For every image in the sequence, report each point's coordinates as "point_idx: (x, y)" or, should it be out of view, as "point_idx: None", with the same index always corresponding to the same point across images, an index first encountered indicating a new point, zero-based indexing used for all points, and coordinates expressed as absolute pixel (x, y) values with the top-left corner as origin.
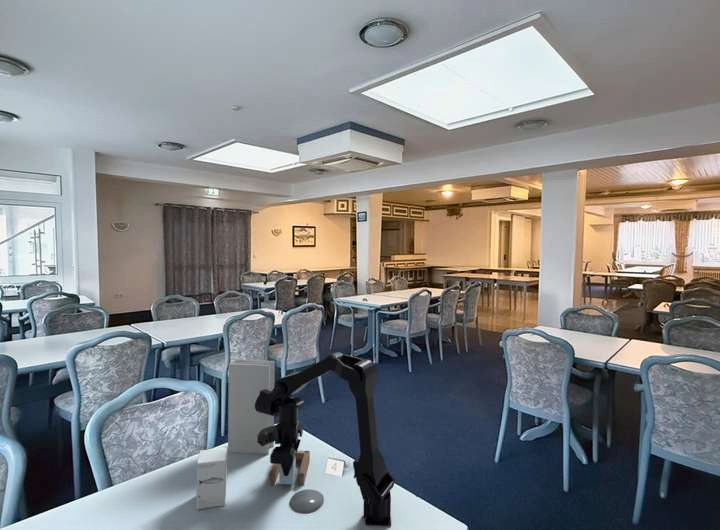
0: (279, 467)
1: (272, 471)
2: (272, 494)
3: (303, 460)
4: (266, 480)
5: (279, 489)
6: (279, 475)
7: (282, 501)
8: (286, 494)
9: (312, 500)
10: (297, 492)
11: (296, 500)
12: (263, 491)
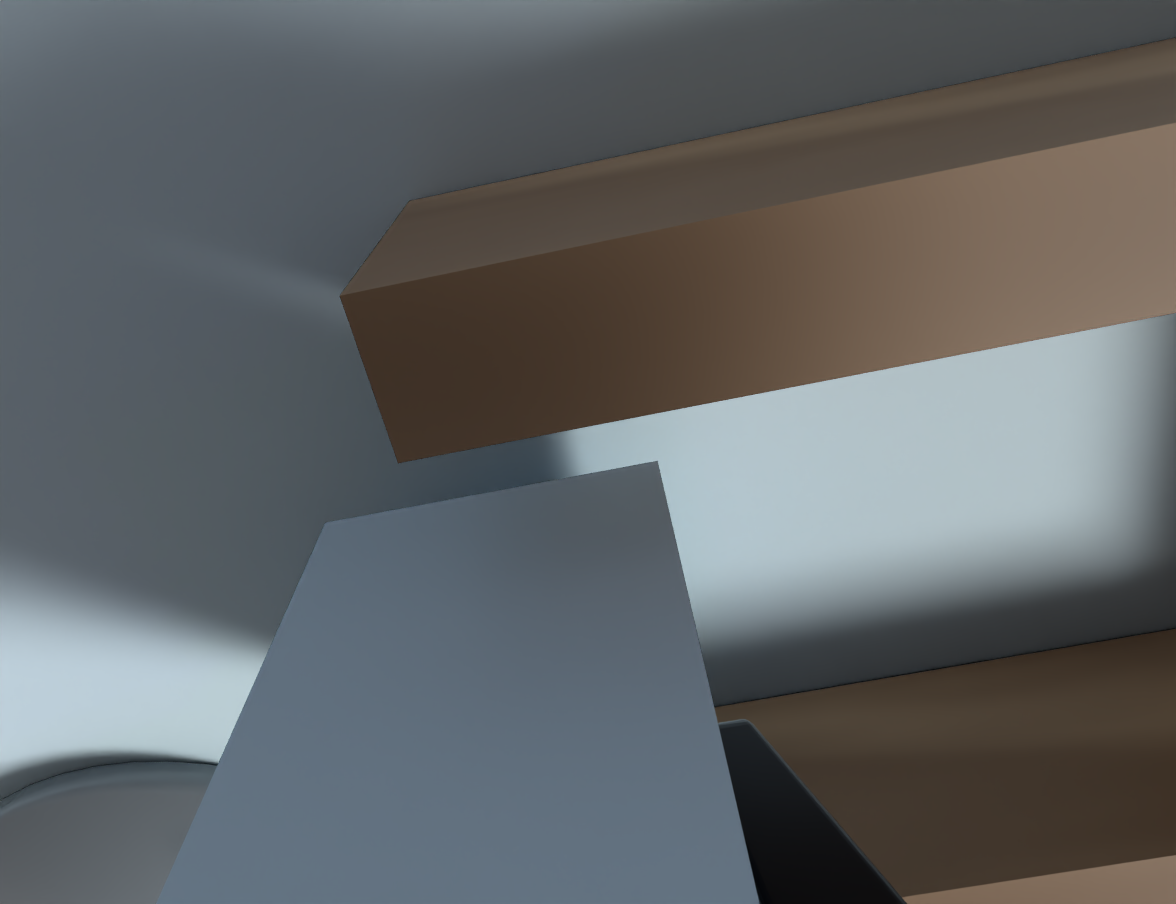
0: (166, 897)
1: (439, 361)
2: (103, 421)
3: (1142, 879)
4: (560, 26)
5: (320, 485)
6: (261, 670)
7: (17, 661)
8: (230, 651)
9: None
10: None
11: (87, 872)
12: (95, 173)
